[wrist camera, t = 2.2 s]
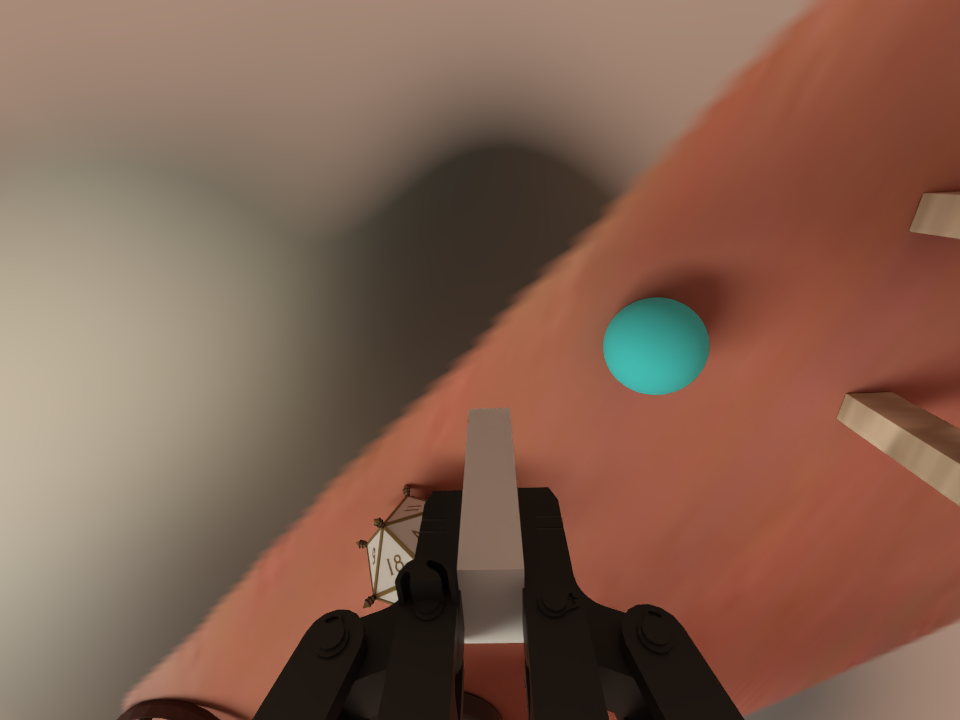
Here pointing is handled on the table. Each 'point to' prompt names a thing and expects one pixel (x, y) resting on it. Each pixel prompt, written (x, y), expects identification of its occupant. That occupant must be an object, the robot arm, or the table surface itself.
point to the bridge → (897, 422)
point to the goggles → (167, 711)
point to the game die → (393, 547)
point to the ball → (656, 346)
